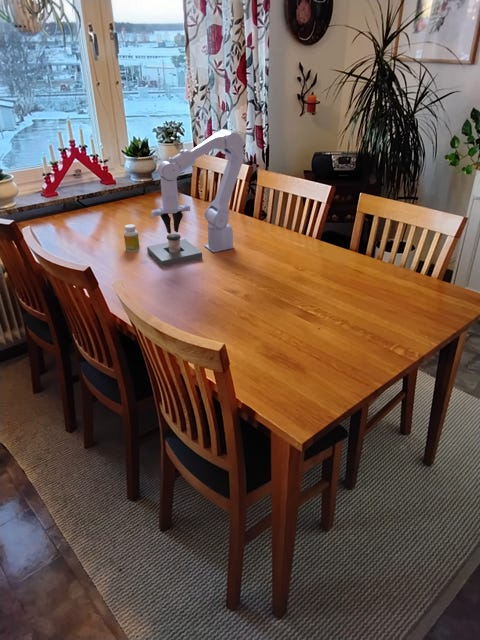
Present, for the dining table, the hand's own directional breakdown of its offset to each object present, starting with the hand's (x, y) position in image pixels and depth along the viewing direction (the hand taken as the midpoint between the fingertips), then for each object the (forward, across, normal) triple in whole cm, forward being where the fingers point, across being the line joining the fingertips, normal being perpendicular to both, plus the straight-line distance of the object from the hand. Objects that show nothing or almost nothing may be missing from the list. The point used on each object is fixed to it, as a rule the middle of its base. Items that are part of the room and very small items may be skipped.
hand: (172, 232), depth 179 cm
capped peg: (+9, 0, 0) cm, 9 cm away
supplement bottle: (+10, -12, +14) cm, 21 cm away
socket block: (+9, 0, 0) cm, 9 cm away
